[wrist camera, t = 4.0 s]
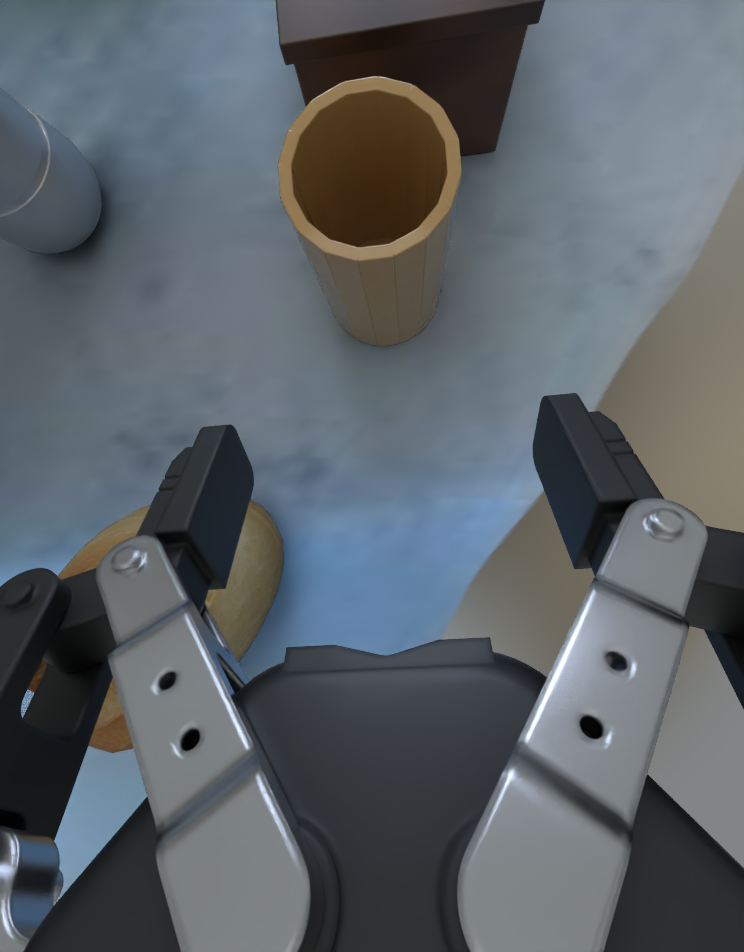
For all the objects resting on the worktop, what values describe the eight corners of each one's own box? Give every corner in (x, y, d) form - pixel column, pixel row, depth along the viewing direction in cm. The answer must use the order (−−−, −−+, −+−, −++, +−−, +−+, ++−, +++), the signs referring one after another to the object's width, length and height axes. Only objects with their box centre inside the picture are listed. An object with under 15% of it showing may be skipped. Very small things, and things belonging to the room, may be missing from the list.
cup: (334, 351, 25) (285, 270, 15) (325, 242, 26) (271, 92, 16) (444, 339, 25) (468, 247, 15) (435, 228, 25) (452, 63, 15)
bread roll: (61, 648, 27) (-86, 721, 19) (199, 450, 26) (107, 438, 18) (183, 747, 26) (84, 865, 18) (328, 546, 25) (291, 577, 17)
